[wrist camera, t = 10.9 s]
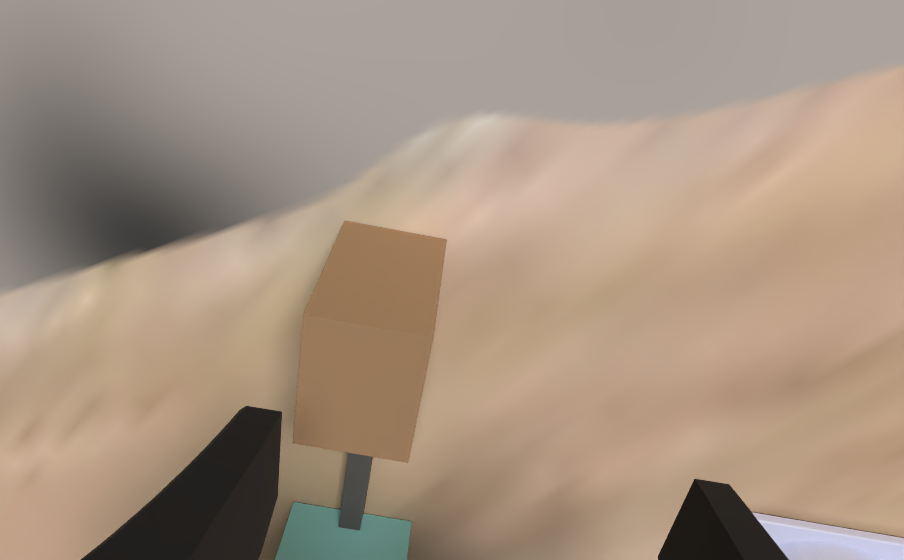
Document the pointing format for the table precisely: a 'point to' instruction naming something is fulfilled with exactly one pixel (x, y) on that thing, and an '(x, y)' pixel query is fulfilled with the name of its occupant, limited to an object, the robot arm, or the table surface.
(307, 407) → the brown tall block
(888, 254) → the table surface
